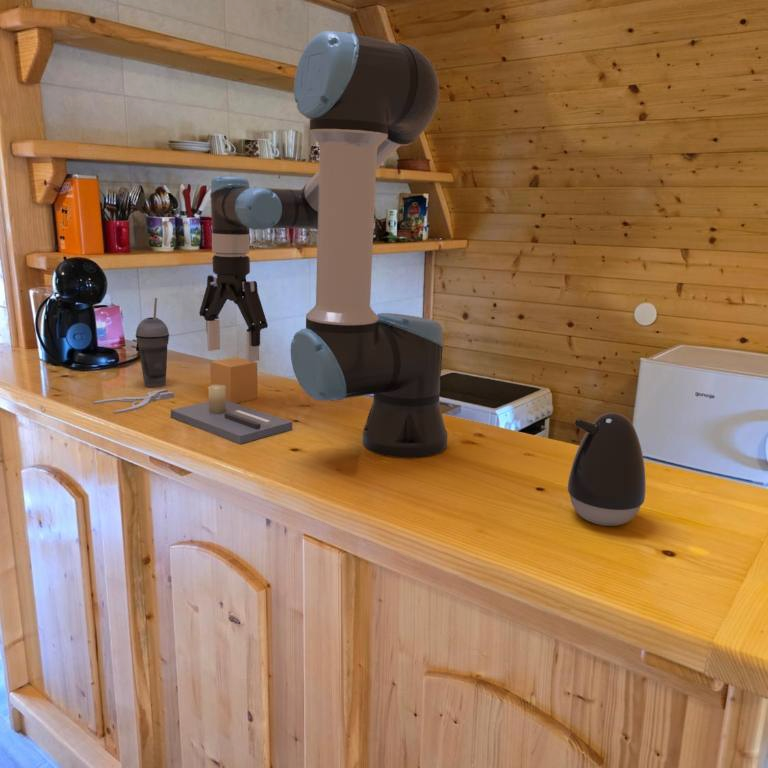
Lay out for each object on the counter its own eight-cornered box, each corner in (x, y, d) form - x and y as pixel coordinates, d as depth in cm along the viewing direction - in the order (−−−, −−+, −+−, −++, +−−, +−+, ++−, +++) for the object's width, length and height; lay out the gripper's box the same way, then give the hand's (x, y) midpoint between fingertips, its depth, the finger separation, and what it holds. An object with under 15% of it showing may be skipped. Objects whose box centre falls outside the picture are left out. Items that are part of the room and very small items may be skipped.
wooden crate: (257, 398, 150) (257, 362, 148) (231, 404, 145) (230, 367, 143) (237, 392, 155) (237, 357, 153) (211, 397, 150) (210, 361, 148)
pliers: (92, 397, 142) (158, 385, 153) (92, 405, 143) (158, 392, 154) (114, 407, 136) (182, 394, 147) (115, 415, 136) (182, 402, 147)
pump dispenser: (554, 502, 101) (563, 402, 97) (623, 502, 102) (635, 403, 98) (577, 534, 91) (589, 424, 87) (654, 534, 92) (669, 425, 88)
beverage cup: (145, 380, 162) (140, 295, 157) (176, 381, 162) (172, 296, 157) (133, 388, 155) (127, 299, 150) (165, 389, 155) (161, 300, 150)
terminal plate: (292, 429, 130) (292, 396, 128) (240, 444, 121) (239, 408, 120) (221, 405, 144) (220, 375, 142) (170, 417, 135) (169, 385, 134)
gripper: (285, 259, 137) (284, 363, 143) (210, 249, 153) (212, 343, 159) (254, 260, 132) (255, 368, 137) (180, 250, 148) (184, 347, 153)
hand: (232, 355), depth 148 cm, fingers open, 13 cm apart
